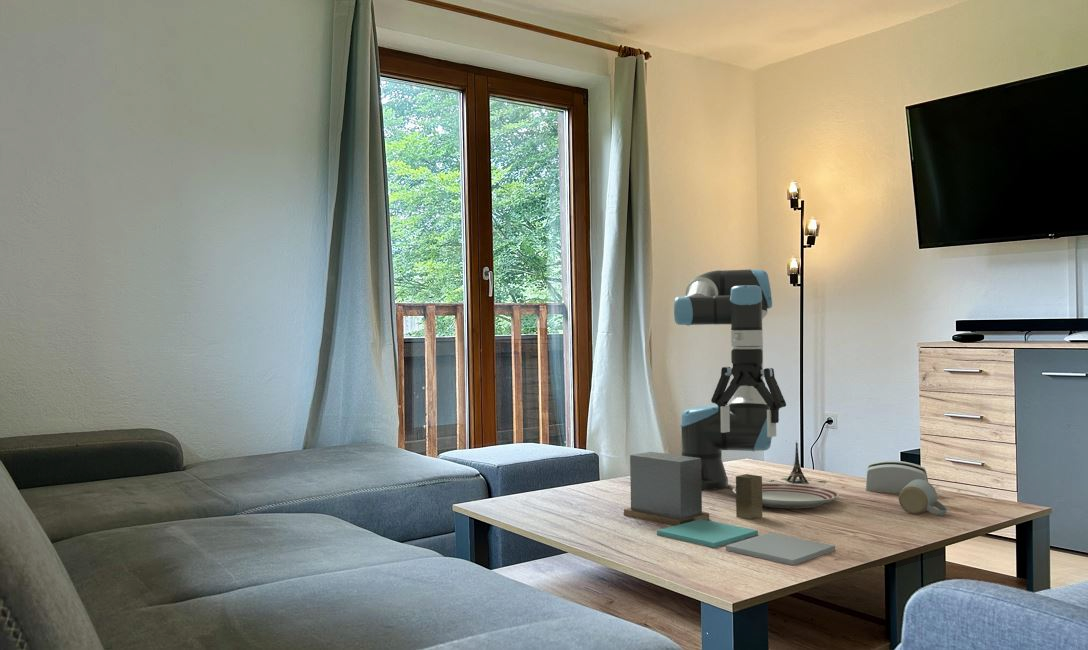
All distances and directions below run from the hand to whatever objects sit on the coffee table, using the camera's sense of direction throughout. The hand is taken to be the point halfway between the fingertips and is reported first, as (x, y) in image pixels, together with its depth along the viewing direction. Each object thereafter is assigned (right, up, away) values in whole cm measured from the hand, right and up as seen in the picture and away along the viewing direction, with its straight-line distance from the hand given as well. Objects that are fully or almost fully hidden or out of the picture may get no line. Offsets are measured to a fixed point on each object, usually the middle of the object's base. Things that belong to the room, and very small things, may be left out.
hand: (747, 434), depth 212 cm
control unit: (-20, -21, +1) cm, 29 cm away
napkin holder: (+48, -20, +28) cm, 60 cm away
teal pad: (-13, -20, -18) cm, 30 cm away
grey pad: (-1, -20, -32) cm, 38 cm away
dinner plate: (+14, -21, +18) cm, 31 cm away
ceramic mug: (+44, -20, +2) cm, 49 cm away
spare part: (0, -20, 0) cm, 20 cm away
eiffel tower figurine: (+26, -21, +46) cm, 57 cm away
